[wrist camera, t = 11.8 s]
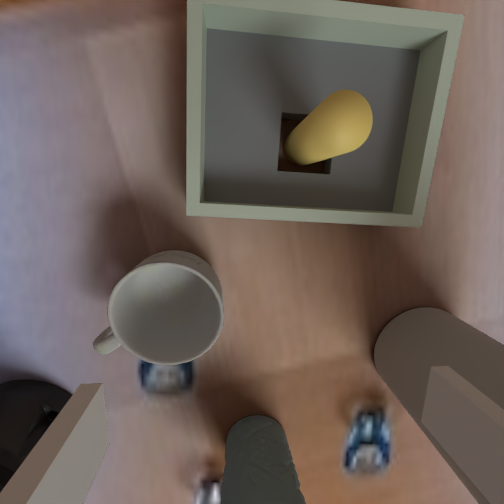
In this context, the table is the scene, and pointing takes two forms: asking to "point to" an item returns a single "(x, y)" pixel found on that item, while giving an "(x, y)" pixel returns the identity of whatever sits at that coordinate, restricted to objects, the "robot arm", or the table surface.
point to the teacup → (165, 310)
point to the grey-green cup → (259, 464)
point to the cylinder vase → (437, 364)
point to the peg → (330, 129)
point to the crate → (307, 99)
